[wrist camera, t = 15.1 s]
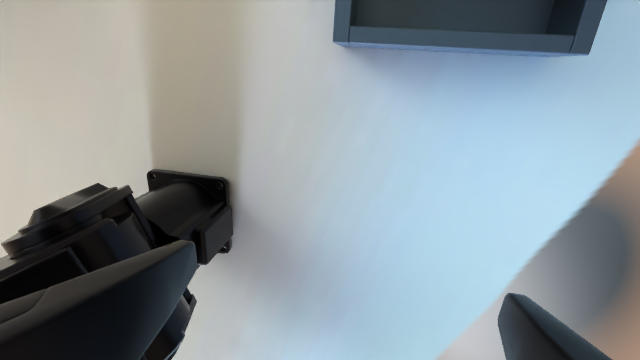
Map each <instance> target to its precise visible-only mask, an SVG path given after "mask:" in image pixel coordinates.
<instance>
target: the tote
mask: <svg viewBox="0 0 640 360" xmlns="http://www.w3.org/2000/svg"><path fill="white" fill-rule="evenodd" d="M606 2H607V0H336V1H335V16H334V32H333V42H334V43H336V44H338V45H340V46H348V47H368V48H387V49H407V50H426V51H446V52H465V53H485V54H504V55H523V56H543V57H557V56H581V55H588V54H589V52H590V50H591V47H592V44H593V41H594V38H595V35H596V32H597V29H598V26H599V23H600V20H601V17H602V14H603V11H604V8H605V5H606Z"/></svg>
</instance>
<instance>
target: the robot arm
mask: <svg viewBox="0 0 640 360" xmlns="http://www.w3.org/2000/svg"><path fill="white" fill-rule="evenodd" d="M153 174H154V175H155V176H156V178H155V177H154V175H153ZM147 180H148V186H149V192H147V193H145V194H143V195H142V196H140V197H138V198H136V199H134V197H133V195H132V193H133V191H132V190H131V188H130V186H129V185H126V186H124V187H121V188H119V189H117V187H113V188H107V187H105V186H103V185H101V184H99V183H97V184H95V185H92V186H90V187H87V188H85V189H82V190H80V191H78V192H75V193H73V194H71V195H68V196H66V197H64V198H61V199H59V200H57V201H54V202H52V203H50V204H48V205H45V206H43V207H41V208H39V209H37V210H34V212H33V214H32V216H31V218H30V221H29V223H28V225H27V226H25V227H23V228H21V229H20V230H18V232H19V233H17V234H16V235H14V236H12V237H11V238H9V239H7V240H6V241H4V242H3V243H1V245H2V246H3V248H4V249H5V250H6V252H7V253H8V255H7V256H4V257H2V258H0V360H171V359H172V358H173V356H174V355H175V354H176V352H177V350H178V348H179V346H180V344H181V343H182V341H183V339H184V336H185V334H184V333H185V331H186V328H187V326H188V323H189V320H190V318H191V315H192V313H193V310H194V308H195V305H196V303H197V300H196V299H195V297H194V295H193V294H190V292H189V290H188V288H187V286H188V284H189V282H190V280H191V279H192V277H193V275H194V273H195V271H196V270H197V269H198V268H199V266H200V265H203V266H205V265H206V264H208V263H209V262H210V261H211V259H212V258H213V257H214V256H215V255H216V254H217V253H223V254H227V253H228V252H229V251H230V250H231V247H232V245H231V236H232V235H233V227H232V208H231V206H230V205H229V191H228V182H227V180H226V179H224V178H222V177H215V176H207V175H198V174H190V173H182V172H174V171H166V170H158V169H153V170H151V171H149V172H148V173H147ZM219 182H220V183H221V184H222V185H223V187H222V186H220V185H219ZM223 246H225V247H226V248H224V247H223ZM498 327H499V331H500V335H501V340H502V344H503V348H504V352H505V357H506V360H612V359H611V358H609V357H608V356H606V355H605V354H604V353H603V352H601V351H600V350H598V349H597V348H596V347H594V346H593V345H592V344H590V343H589V342H588V341H586V340H585V339H584V338H582V337H581V336H580V335H578V334H577V333H575V332H574V331H573V330H571V329H570V328H569V327H567V326H566V325H564V324H563V323H562V322H561V321H559V320H558V319H557V318H555V317H554V316H552V315H551V314H550V313H548V312H547V311H546V310H544V309H543V308H542V307H540V306H539V305H538V304H536V303H535V302H533V301H532V300H531V299H529V298H528V297H527V296H525V295H521V294H514V293H508V294H507V295H506V296H505V298H504V301H503V304H502V307H501V310H500V313H499V316H498Z"/></svg>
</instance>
